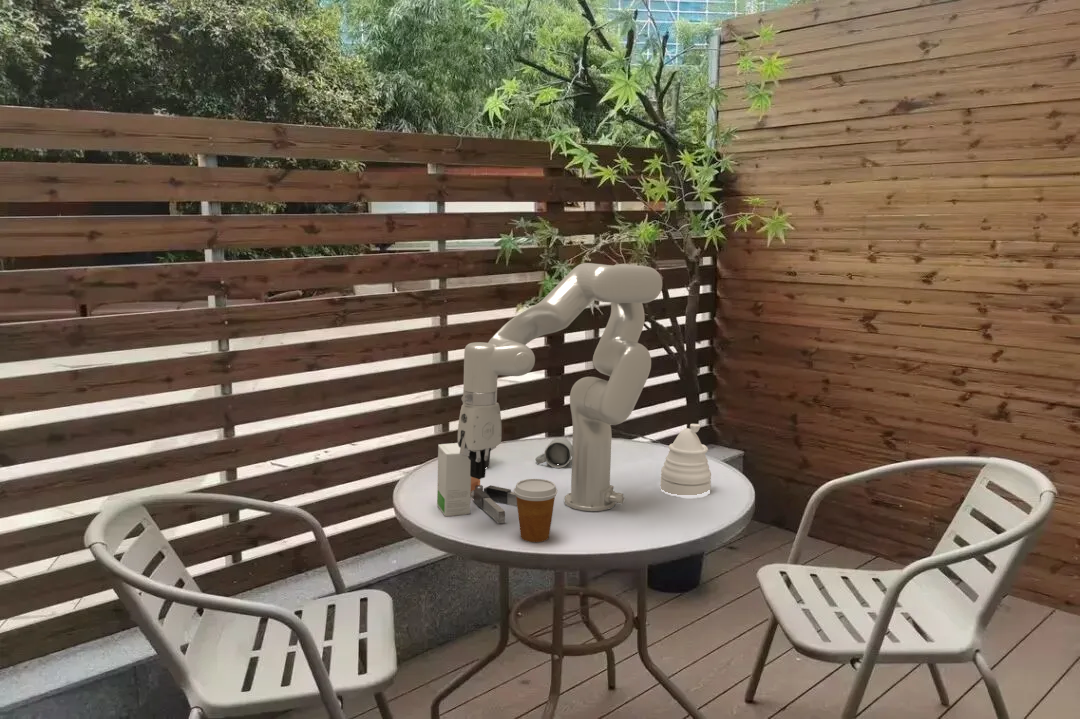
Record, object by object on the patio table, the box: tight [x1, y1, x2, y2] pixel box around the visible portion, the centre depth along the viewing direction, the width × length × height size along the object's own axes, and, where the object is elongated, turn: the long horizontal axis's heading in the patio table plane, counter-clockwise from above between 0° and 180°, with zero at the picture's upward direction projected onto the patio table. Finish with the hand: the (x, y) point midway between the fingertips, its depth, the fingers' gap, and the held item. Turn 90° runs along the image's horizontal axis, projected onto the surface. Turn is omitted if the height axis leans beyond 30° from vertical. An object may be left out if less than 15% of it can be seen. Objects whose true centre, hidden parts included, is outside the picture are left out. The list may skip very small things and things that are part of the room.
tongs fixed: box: [475, 484, 517, 507], centre depth 200 cm, size 19×3×3 cm, turn 61°
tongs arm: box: [471, 489, 506, 524], centre depth 194 cm, size 17×2×3 cm, turn 25°
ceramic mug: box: [535, 437, 572, 469], centre depth 233 cm, size 11×8×8 cm
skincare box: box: [436, 442, 472, 518], centre depth 194 cm, size 8×7×16 cm
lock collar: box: [471, 477, 481, 493], centre depth 205 cm, size 3×7×5 cm, turn 151°
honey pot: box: [659, 423, 712, 495], centre depth 211 cm, size 13×13×18 cm
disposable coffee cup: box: [513, 478, 558, 543], centre depth 179 cm, size 10×10×12 cm
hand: (477, 477), depth 185 cm, fingers closed
